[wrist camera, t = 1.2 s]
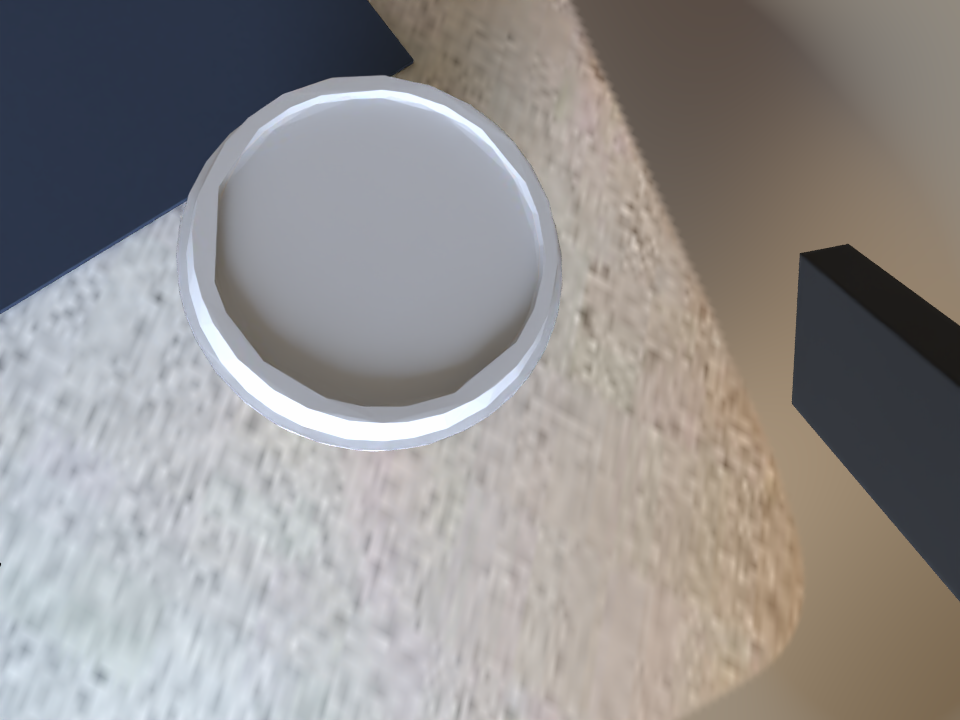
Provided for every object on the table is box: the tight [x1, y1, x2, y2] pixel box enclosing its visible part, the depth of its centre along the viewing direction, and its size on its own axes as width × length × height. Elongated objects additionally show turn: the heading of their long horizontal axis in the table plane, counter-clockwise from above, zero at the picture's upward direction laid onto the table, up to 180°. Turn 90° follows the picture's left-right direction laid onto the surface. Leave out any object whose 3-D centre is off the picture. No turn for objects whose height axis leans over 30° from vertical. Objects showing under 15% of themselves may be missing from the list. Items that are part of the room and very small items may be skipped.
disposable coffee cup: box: [176, 75, 562, 451], centre depth 26 cm, size 10×10×12 cm
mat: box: [0, 0, 414, 314], centre depth 32 cm, size 16×22×1 cm
